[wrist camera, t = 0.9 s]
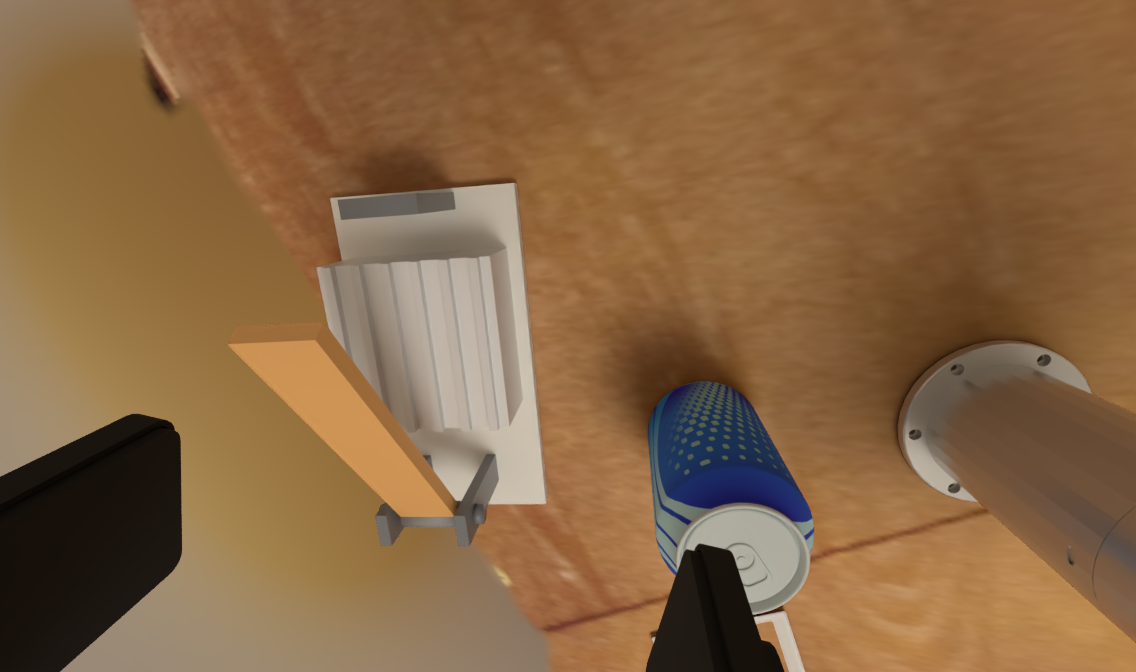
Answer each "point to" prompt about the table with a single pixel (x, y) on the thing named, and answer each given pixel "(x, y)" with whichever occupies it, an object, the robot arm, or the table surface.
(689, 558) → the robot arm
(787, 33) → the table surface
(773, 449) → the beer can
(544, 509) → the table surface
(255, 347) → the orange rectangular bar
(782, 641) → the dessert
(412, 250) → the heatsink base
